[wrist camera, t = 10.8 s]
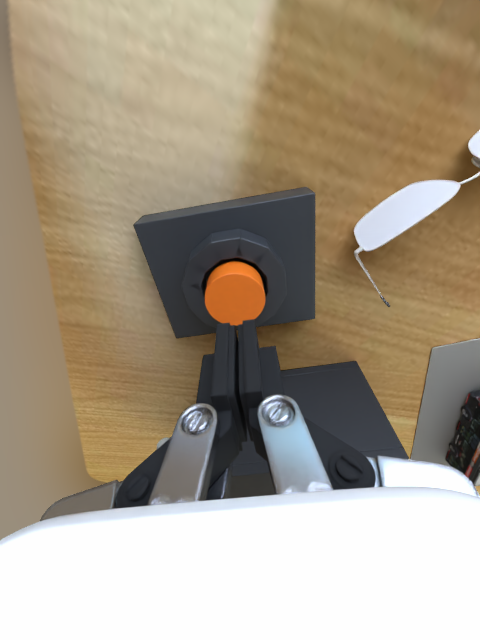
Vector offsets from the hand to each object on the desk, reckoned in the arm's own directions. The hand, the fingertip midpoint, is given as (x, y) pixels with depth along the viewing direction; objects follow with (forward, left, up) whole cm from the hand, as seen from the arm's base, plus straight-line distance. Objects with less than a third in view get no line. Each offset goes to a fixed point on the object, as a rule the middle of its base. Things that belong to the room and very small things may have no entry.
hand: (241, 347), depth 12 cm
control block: (0, 0, -10) cm, 10 cm away
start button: (0, 0, -6) cm, 6 cm away
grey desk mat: (+33, +10, -10) cm, 36 cm away
